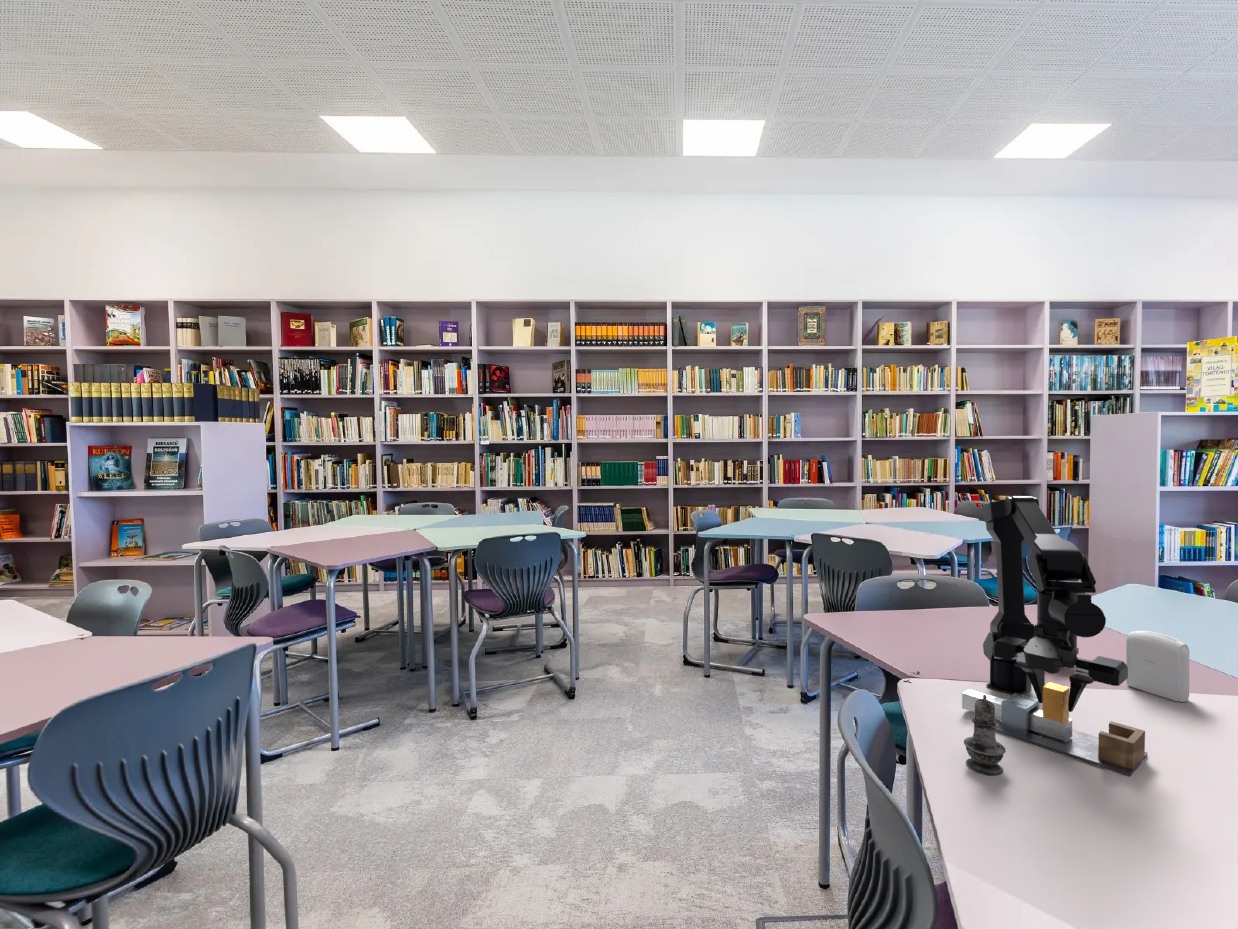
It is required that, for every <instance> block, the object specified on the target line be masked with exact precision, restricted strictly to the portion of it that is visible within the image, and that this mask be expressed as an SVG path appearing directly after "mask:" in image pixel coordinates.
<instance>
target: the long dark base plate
mask: <svg viewBox="0 0 1238 929" xmlns="http://www.w3.org/2000/svg"><path fill="white" fill-rule="evenodd" d="M1004 699H1005V700H1004V701H1002V702H1001V721H1000V723H999V724H997V727H995V733H997V734H1000V735H1003V736H1006V737H1008V738H1012V739H1015V740H1018V741H1020V742H1021V741H1022V742H1023V743H1027V744H1029V745H1033V746H1035V747H1039V748H1042V749H1045V750H1048V751H1052V752H1054V753H1057V754H1061V755H1063V756H1066V757H1069V758H1072V759H1073V760H1078V761H1080V762H1084V763H1087V764H1090V765H1093V766H1095V767H1099V768H1102V769H1105V770H1108V771H1111V772H1113V773H1117V774H1120V775H1123V776H1125V777H1128V778H1131V777H1132V775H1133V774H1134V773H1135V772H1136V770H1138V768H1139V767H1140V765H1141V764H1142V763H1143V762H1144V761H1145V760H1146V758H1147V757H1148V752H1147V751H1145V756H1144V757H1143V758H1142V760H1141V761H1140V762H1139V763H1138V764H1137V766H1136V767H1135V768H1134V769H1130V768H1127V767H1124V766H1120V765H1117V764H1114V763H1111V762H1108V761H1105V760H1102V759H1099V758H1098V741H1099V736H1094V735H1091V734H1088V733H1085V732H1082V731H1078V730H1074V729H1072V737H1070V738H1069V739H1068V740H1067V741H1063V740H1060V739H1057V738H1054V737H1050V736H1047V735H1044V734H1041V733H1038V732H1035V731H1032V730H1029V729H1028V712H1029V711H1030V710H1031V709H1033V708H1036V709H1039V710H1040V704H1041V703H1039V701H1038V699H1037V698H1035V697H1031V696H1028V695H1024V694H1023V695H1021V694H1017V693H1014V694H1011V695H1009V696H1008V697H1007V698H1004Z"/></svg>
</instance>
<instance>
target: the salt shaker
mask: <svg viewBox="0 0 1238 929" xmlns="http://www.w3.org/2000/svg"><path fill="white" fill-rule="evenodd" d="M985 694H986V693H985ZM985 694H984V695H983V696H982V697H983V698H982V699H978V700H977V701H976V702H975V712H974V717H973V718H971V722H972V723H973V735H972V736H969V737H966V738H965V739H964V740H963V744H964V746H965V749H966V752H967V754H968V756H969V758H967V759H966V761H965V766H966V767H967V768H968V769H969V770H971V771H973V772H975V773H976V774H981V775H984V776H990V777H996V776H997V777H998V776H1001V775H1003V774H1004V768H1003V767H1002V766H1001V765H1000V764H999V763H1000V762H1001V761H1002V759H1003V758H1004V754H1006V750H1007V748H1005V746H1004V745H1003V744H1001V743H1000V742H999V741H997V739H996V732H995V727H997V726H998V723H997V722H996V719H995V707H994V704H993V703H992V702H991V701H989V700H987V699H986V698H987V697H986V695H985Z"/></svg>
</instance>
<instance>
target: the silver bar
mask: <svg viewBox="0 0 1238 929" xmlns="http://www.w3.org/2000/svg"><path fill="white" fill-rule="evenodd" d="M1069 692H1070V686H1066V685H1062V684H1057V683H1054V682H1050V681H1049V682H1047V683H1045V686H1043V703H1042V709H1040V708H1039V709H1036V708H1033V709H1031V710H1030V711H1029V712H1028V729H1029V730H1032V731H1035V732H1038V733H1041V734H1044V735H1047V736H1050V737H1054V738H1057V739H1060V740H1063V741H1067V740H1068V739H1069V738H1070V737H1072V730H1073V719H1072V718H1070V712H1069V711H1068V700H1069ZM984 694H985V695H986V697H987V698H986V699H987V700H989V701H991V702H992V703H993V704H994V707H995V720H998V721H1000V722H1001V702H1002V701H1004V700H1005V699H1006V698H1001V697H999V696H998V697H997V696H994V695H990V694H987V693H984V692H980V691H977V690H974V689H970V688H968V689H967V690H965V691H963V692H962V693H961V708H962V709H963V710H967V711H970V712H972V713H975V702H976V701H977V700H978V699H982V698H983V697H982V696H983V695H984Z"/></svg>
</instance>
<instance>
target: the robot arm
mask: <svg viewBox="0 0 1238 929" xmlns="http://www.w3.org/2000/svg"><path fill="white" fill-rule="evenodd" d="M982 519H983V521H984V523H985V528H986V531H987V533H988V534H989V535H990V537H991V538H992V539H993V541H994V542H995V550H996V551H995V554H996V556H995V557H996V574H997V575H996V581H997V582H996V583H997V584H996V585H997V605H998V606H997V607H998V612H997V613H996V614H995V616H994V617H993V619H992V620H991V622H990V625H989V632H988V633H987V635H986V637H985V639H984V641H983V643H982V649H983V655H984V656H985V657H986V658H987V659H988V660H989V682H988V683H986V687H987V688H991V689H993V690H996V691H1001V692H1003V693H1007V694H1011V695H1013V694H1014V693H1017V694H1021V695H1024V694H1025V693H1027V692H1029V691H1030V690H1031V689H1033V691H1034V693H1035V696H1036V699H1038V701H1039V703H1040V704H1042V705H1043V686H1045V685H1046V683H1045V682H1046V679H1045V678H1046V676H1045V675H1046V674H1045V672H1046V673H1048V674H1050V675H1051V674H1053V675H1054V674H1058V673H1060V671H1061V669H1062V668H1064V667H1066V668H1067V669H1073V671H1074V673H1072V674H1071V675H1070V676H1069V677H1068V680H1069V683H1070V686H1069V700H1068V711H1069V713H1072V712H1073V711H1074V710H1075V708H1076V705H1077V704H1078V702H1079V700H1080V698H1081V696H1082V693H1083V692H1084V690H1085V688H1086V687H1087V685H1090V684H1091V685H1092V684H1093V683H1094V682H1095V683H1100V684H1104V685H1110V686H1113V687H1119V686H1121V684H1123V683H1124V682H1125V681H1127V680H1126V679H1127V678H1128V667H1127V665H1126V663H1125V661H1124V660H1120V659H1114V658H1110V657H1106V656H1101V655H1098V656H1097V657H1095V658H1093V660H1090V659H1087V658H1086V659H1085V658H1081V657H1078V656H1077V655H1078V654H1079V649H1080V648H1079V647H1078V637H1081V638H1093V637H1095V636H1097V635H1099V634H1101V632H1102V631H1103V630H1104V629H1105V627H1106V622H1107V617H1106V616H1105V613H1104V611H1103V610H1102V609H1101V607H1099V606H1098V605H1097V604H1095V603H1093V602H1092V595H1091V593H1092V594H1095V593H1096V592H1097V591H1096V584H1097V582H1096V578H1095V576H1094V574H1093V572H1092V570H1091V567H1090V565H1089V563H1088V561H1087V558H1086V557H1085V555H1084V554H1083V552H1081V550H1080V549H1079V548H1078V547H1077V545H1075V544H1074V543H1073V542H1071V541H1069V540H1067V539H1065V538H1063V537H1060V536H1059V535H1058V533H1057V532H1056V530H1055V529H1054V528H1053V525H1052V524H1051V523H1050V521H1049V519H1048V518H1047V517H1046V515H1045V514H1044V512H1043V510H1042V509H1041V507H1040V502H1039V500H1038V498H1037V497H1036V496H1035V497H1034V496H1032V495H1011V496H1010V497H1009V496H1008V497H1006V498H1004V499H999V500H990V501H989V502H988V503H987V504H986V505H984V506H983V509H982ZM1024 540H1025V542H1026V544H1027V546H1028V547H1029V549H1030V555H1029V559H1028V566H1029V570H1030V572H1031V575H1032V577H1033V579H1034V581H1035V584H1034V585H1035V587H1036V588H1037V595H1036V599H1037V601H1036V602H1037V603H1036V606H1037V607H1036V608H1037V609H1036V624H1035V625H1034V623H1032V622H1031V621H1030V620H1029V618H1028V617H1027V615H1026V611H1025V591H1024V589H1025V588H1024V585H1025V584H1024V568H1023V567H1024V566H1023V549H1022V548H1023V546H1022V545H1023V542H1024ZM1061 667H1062V668H1061Z"/></svg>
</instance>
